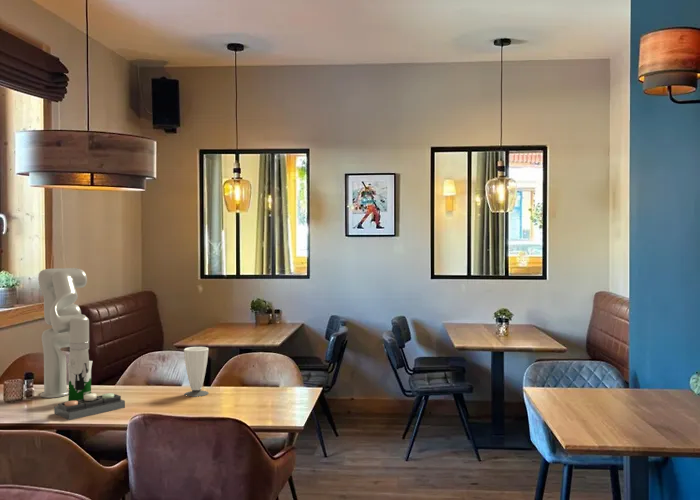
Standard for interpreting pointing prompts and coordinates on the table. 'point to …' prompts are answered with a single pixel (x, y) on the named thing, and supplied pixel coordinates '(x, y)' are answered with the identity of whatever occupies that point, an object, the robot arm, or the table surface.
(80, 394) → the milk carton
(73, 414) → the panel
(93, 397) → the button cream
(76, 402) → the button terracotta
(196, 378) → the cup
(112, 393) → the button sage
